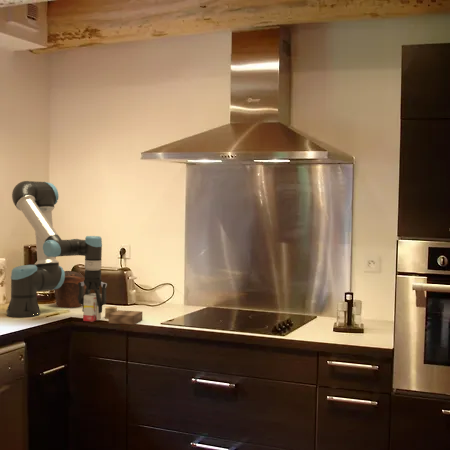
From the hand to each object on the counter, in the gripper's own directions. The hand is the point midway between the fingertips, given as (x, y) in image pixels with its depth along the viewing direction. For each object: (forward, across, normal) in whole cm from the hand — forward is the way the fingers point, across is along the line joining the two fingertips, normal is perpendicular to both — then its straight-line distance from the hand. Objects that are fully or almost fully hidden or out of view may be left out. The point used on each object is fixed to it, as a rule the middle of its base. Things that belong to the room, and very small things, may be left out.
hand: (92, 319), depth 290 cm
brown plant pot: (+1, -27, +35) cm, 44 cm away
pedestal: (0, +16, +1) cm, 16 cm away
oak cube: (0, +6, +8) cm, 10 cm away
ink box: (0, 0, 0) cm, 0 cm away
